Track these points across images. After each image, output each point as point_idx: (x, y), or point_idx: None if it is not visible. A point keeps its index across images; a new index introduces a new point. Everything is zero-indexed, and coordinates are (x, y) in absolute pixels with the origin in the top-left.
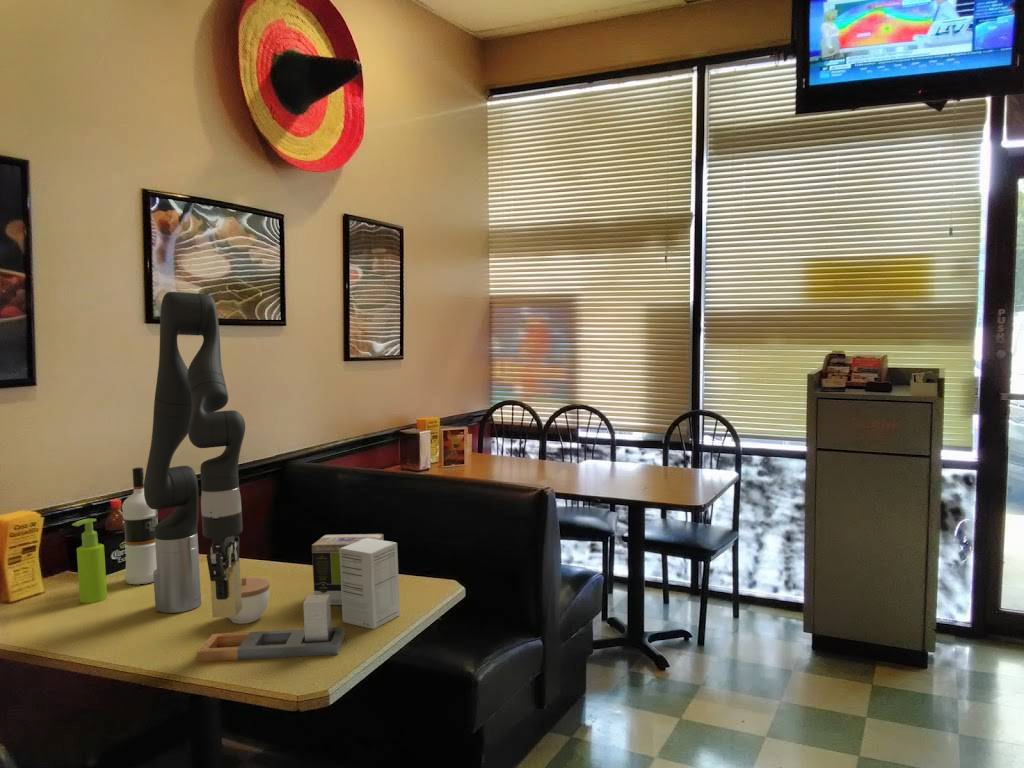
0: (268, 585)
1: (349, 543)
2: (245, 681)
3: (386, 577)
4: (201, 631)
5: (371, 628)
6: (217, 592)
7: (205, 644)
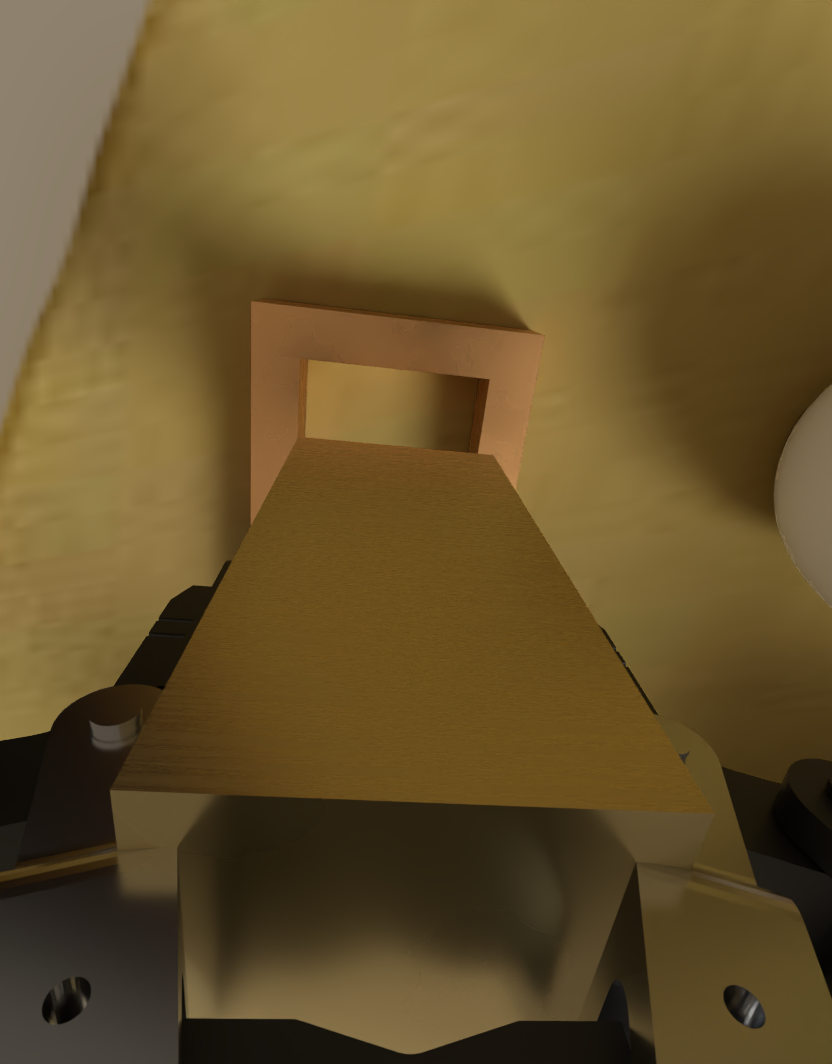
0: None
1: None
2: (6, 586)
3: None
4: (771, 201)
5: None
6: (160, 625)
7: (369, 324)
